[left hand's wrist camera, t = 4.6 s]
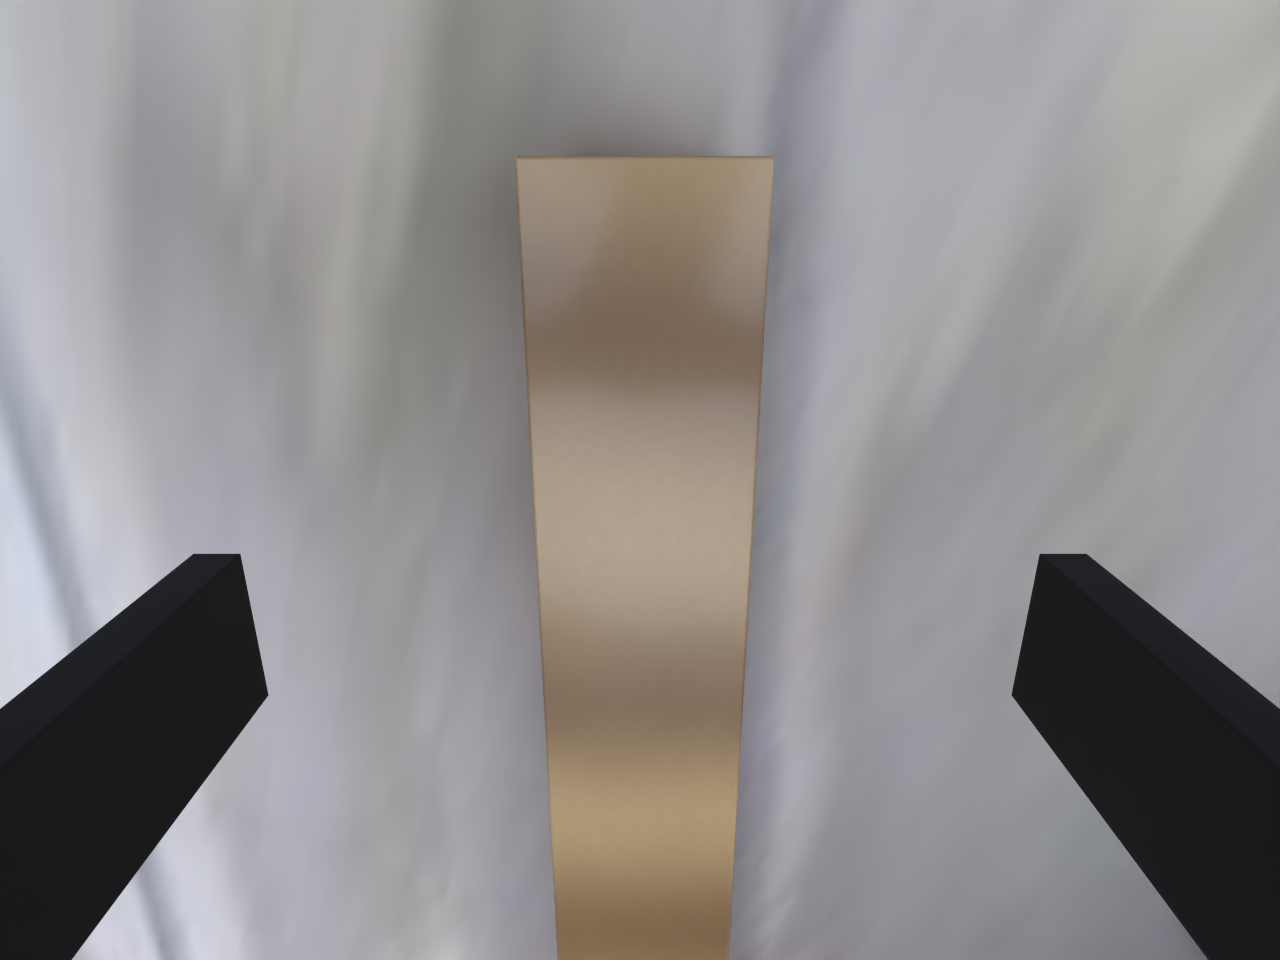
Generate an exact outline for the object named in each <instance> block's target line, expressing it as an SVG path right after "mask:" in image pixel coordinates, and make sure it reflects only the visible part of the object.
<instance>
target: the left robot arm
mask: <svg viewBox="0 0 1280 960" xmlns="http://www.w3.org/2000/svg"><path fill="white" fill-rule="evenodd" d="M267 696H268V691H267V686H266V681H265V676H264V671H263V666H262V661H261V656H260V651H259V646H258V641H257V636H256V631H255V626H254V621H253V616H252V610H251V605H250V600H249V595H248V590H247V585H246V580H245V575H244V570H243V565H242V560H241V555H240V554H193V555H192V556H190V557H189V558H188V559H187V560H185V561H184V562H183V563H182V564H180V565H179V566H178V567H177V568H175V569H174V570H173V571H172V572H170V573H169V574H168V575H167V576H165V577H164V578H163V579H162V580H160V581H159V582H158V583H157V584H155V585H154V586H153V587H152V588H150V589H149V590H148V591H147V592H146V593H144V594H143V595H142V596H141V597H139V598H138V599H137V600H136V601H134V602H133V603H132V604H131V605H129V606H128V607H127V608H126V609H124V610H123V611H122V612H121V613H119V614H118V615H117V616H116V617H114V618H113V619H112V620H111V621H109V622H108V623H107V624H106V625H104V626H103V627H102V628H101V629H99V630H98V631H97V632H96V633H94V634H93V635H92V636H91V637H89V638H88V639H87V640H86V641H84V642H83V643H82V644H81V645H79V646H78V647H77V648H76V649H74V650H73V651H72V652H71V653H69V654H68V655H67V656H66V657H64V658H63V659H62V660H61V661H59V662H58V663H57V664H56V665H55V666H53V667H52V668H51V669H50V670H48V671H47V672H46V673H45V674H43V675H42V676H41V677H40V678H38V679H37V680H36V681H35V682H33V683H32V684H31V685H30V686H28V687H27V688H26V689H25V690H23V691H22V692H21V693H20V694H18V695H17V696H16V697H15V698H13V699H12V700H11V701H10V702H8V703H7V704H6V705H5V706H3V707H2V708H1V709H0V960H72V958H73V957H74V956H75V954H76V953H77V952H78V950H79V949H80V948H81V946H82V945H83V944H84V942H85V941H86V940H87V938H88V937H89V936H90V934H91V933H92V931H93V930H94V929H95V927H96V926H97V925H98V923H99V922H100V921H101V919H102V918H103V917H104V915H105V914H106V913H107V911H108V910H109V909H110V907H111V906H112V905H113V903H114V902H115V901H116V899H117V898H118V897H119V895H120V894H121V893H122V891H123V890H124V888H125V887H126V886H127V884H128V883H129V882H130V880H131V879H132V878H133V876H134V875H135V874H136V872H137V871H138V870H139V868H140V867H141V866H142V864H143V863H144V862H145V860H146V859H147V858H148V856H149V855H150V854H151V852H152V851H153V850H154V848H155V847H156V845H157V844H158V843H159V841H160V840H161V839H162V837H163V836H164V835H165V833H166V832H167V831H168V829H169V828H170V827H171V825H172V824H173V823H174V821H175V820H176V819H177V817H178V816H179V815H180V813H181V812H182V811H183V809H184V808H185V807H186V805H187V804H188V802H189V801H190V800H191V798H192V797H193V796H194V794H195V793H196V792H197V790H198V789H199V788H200V786H201V785H202V784H203V782H204V781H205V780H206V778H207V777H208V776H209V774H210V773H211V772H212V770H213V769H214V768H215V766H216V765H217V764H218V762H219V761H220V760H221V758H222V757H223V755H224V754H225V753H226V751H227V750H228V749H229V747H230V746H231V745H232V743H233V742H234V741H235V739H236V738H237V737H238V735H239V734H240V733H241V731H242V730H243V729H244V727H245V726H246V725H247V723H248V722H249V721H250V719H251V718H252V717H253V715H254V714H255V712H256V711H257V710H258V708H259V707H260V706H261V704H262V703H263V702H264V700H265V699H266V698H267ZM1012 696H1013V698H1014V699H1015V700H1016V702H1017V703H1018V704H1019V706H1020V707H1021V708H1022V710H1023V711H1024V712H1025V714H1026V715H1027V717H1028V718H1029V719H1030V721H1031V722H1032V723H1033V725H1034V726H1035V727H1036V729H1037V730H1038V731H1039V733H1040V734H1041V735H1042V737H1043V738H1044V739H1045V741H1046V742H1047V743H1048V745H1049V746H1050V747H1051V749H1052V750H1053V751H1054V753H1055V754H1056V755H1057V757H1058V758H1059V760H1060V761H1061V762H1062V764H1063V765H1064V766H1065V768H1066V769H1067V770H1068V772H1069V773H1070V774H1071V776H1072V777H1073V778H1074V780H1075V781H1076V782H1077V784H1078V785H1079V786H1080V788H1081V789H1082V790H1083V792H1084V793H1085V794H1086V796H1087V797H1088V798H1089V800H1090V801H1091V802H1092V804H1093V805H1094V807H1095V808H1096V809H1097V811H1098V812H1099V813H1100V815H1101V816H1102V817H1103V819H1104V820H1105V821H1106V823H1107V824H1108V825H1109V827H1110V828H1111V829H1112V831H1113V832H1114V833H1115V835H1116V836H1117V837H1118V839H1119V840H1120V841H1121V843H1122V844H1123V845H1124V847H1125V848H1126V850H1127V851H1128V852H1129V854H1130V855H1131V856H1132V858H1133V859H1134V860H1135V862H1136V863H1137V864H1138V866H1139V867H1140V868H1141V870H1142V871H1143V872H1144V874H1145V875H1146V876H1147V878H1148V879H1149V880H1150V882H1151V883H1152V884H1153V886H1154V887H1155V888H1156V890H1157V891H1158V893H1159V894H1160V895H1161V897H1162V898H1163V899H1164V901H1165V902H1166V903H1167V905H1168V906H1169V907H1170V909H1171V910H1172V911H1173V913H1174V914H1175V915H1176V917H1177V918H1178V919H1179V921H1180V922H1181V923H1182V925H1183V926H1184V927H1185V929H1186V930H1187V931H1188V933H1189V934H1190V936H1191V937H1192V938H1193V940H1194V941H1195V942H1196V944H1197V945H1198V946H1199V948H1200V949H1201V950H1202V952H1203V953H1204V954H1205V956H1206V957H1207V958H1208V960H1280V709H1279V708H1278V707H1277V706H1275V705H1274V704H1273V703H1272V702H1270V701H1269V700H1268V699H1267V698H1265V697H1264V696H1263V695H1262V694H1260V693H1259V692H1258V691H1257V690H1255V689H1254V688H1253V687H1252V686H1250V685H1249V684H1248V683H1247V682H1245V681H1244V680H1243V679H1242V678H1240V677H1239V676H1238V675H1237V674H1235V673H1234V672H1233V671H1232V670H1230V669H1229V668H1228V667H1227V666H1225V665H1224V664H1223V663H1222V662H1221V661H1219V660H1218V659H1217V658H1216V657H1214V656H1213V655H1212V654H1211V653H1209V652H1208V651H1207V650H1206V649H1204V648H1203V647H1202V646H1201V645H1199V644H1198V643H1197V642H1196V641H1194V640H1193V639H1192V638H1191V637H1189V636H1188V635H1187V634H1186V633H1184V632H1183V631H1182V630H1181V629H1179V628H1178V627H1177V626H1176V625H1174V624H1173V623H1172V622H1171V621H1169V620H1168V619H1167V618H1166V617H1164V616H1163V615H1162V614H1161V613H1159V612H1158V611H1157V610H1156V609H1154V608H1153V607H1152V606H1151V605H1149V604H1148V603H1147V602H1146V601H1144V600H1143V599H1142V598H1141V597H1139V596H1138V595H1137V594H1136V593H1134V592H1133V591H1132V590H1131V589H1130V588H1128V587H1127V586H1126V585H1125V584H1123V583H1122V582H1121V581H1120V580H1118V579H1117V578H1116V577H1115V576H1113V575H1112V574H1111V573H1110V572H1108V571H1107V570H1106V569H1105V568H1103V567H1102V566H1101V565H1100V564H1098V563H1097V562H1096V561H1095V560H1093V559H1092V558H1091V557H1090V556H1088V555H1087V554H1040V555H1039V560H1038V565H1037V570H1036V575H1035V580H1034V585H1033V590H1032V595H1031V600H1030V605H1029V610H1028V616H1027V621H1026V626H1025V631H1024V636H1023V641H1022V646H1021V651H1020V656H1019V661H1018V666H1017V671H1016V676H1015V681H1014V686H1013V691H1012Z"/></svg>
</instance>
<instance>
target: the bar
mask: <svg viewBox="0 0 1280 960" xmlns="http://www.w3.org/2000/svg"><path fill="white" fill-rule="evenodd" d="M773 170H774V158H773V157H771V156H518V157H516V158H515V172H516V190H517V209H518V228H519V246H520V265H521V284H522V302H523V321H524V340H525V358H526V377H527V395H528V414H529V433H530V451H531V470H532V489H533V507H534V526H535V545H536V563H537V582H538V601H539V619H540V638H541V657H542V675H543V694H544V713H545V731H546V750H547V769H548V787H549V806H550V824H551V843H552V862H553V880H554V899H555V918H556V936H557V955H558V960H728V955H729V937H730V920H731V903H732V885H733V868H734V850H735V833H736V815H737V798H738V780H739V763H740V745H741V728H742V711H743V693H744V676H745V658H746V641H747V623H748V606H749V588H750V571H751V553H752V536H753V519H754V501H755V484H756V466H757V449H758V431H759V414H760V396H761V379H762V362H763V344H764V327H765V309H766V292H767V274H768V257H769V239H770V222H771V204H772V187H773Z"/></svg>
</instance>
